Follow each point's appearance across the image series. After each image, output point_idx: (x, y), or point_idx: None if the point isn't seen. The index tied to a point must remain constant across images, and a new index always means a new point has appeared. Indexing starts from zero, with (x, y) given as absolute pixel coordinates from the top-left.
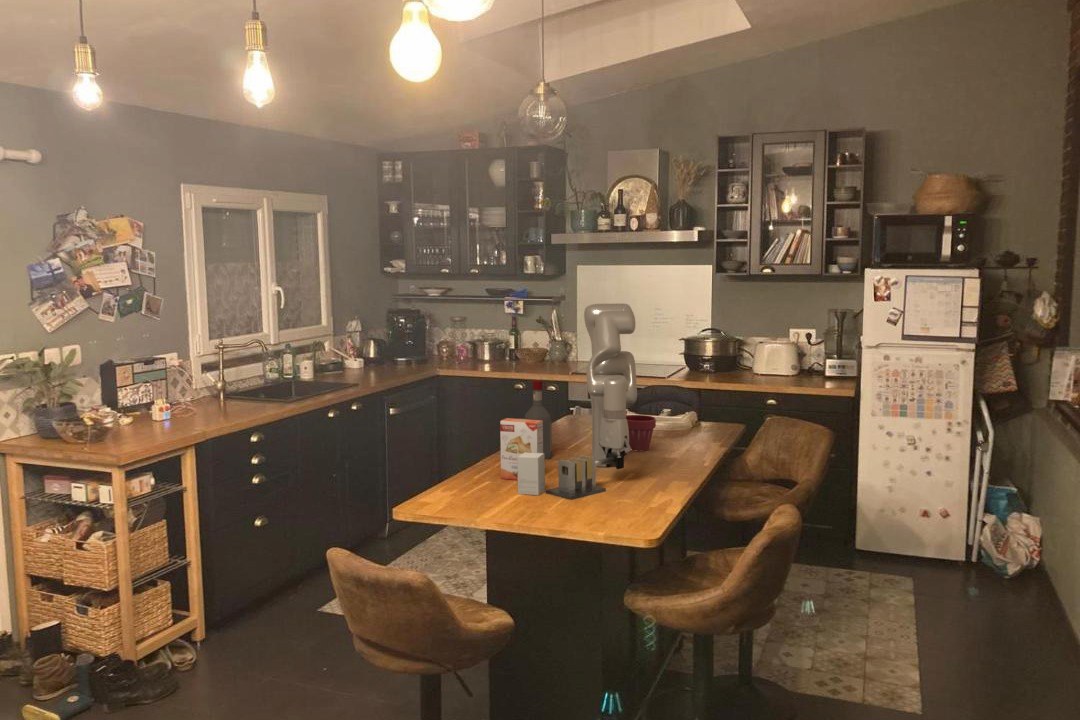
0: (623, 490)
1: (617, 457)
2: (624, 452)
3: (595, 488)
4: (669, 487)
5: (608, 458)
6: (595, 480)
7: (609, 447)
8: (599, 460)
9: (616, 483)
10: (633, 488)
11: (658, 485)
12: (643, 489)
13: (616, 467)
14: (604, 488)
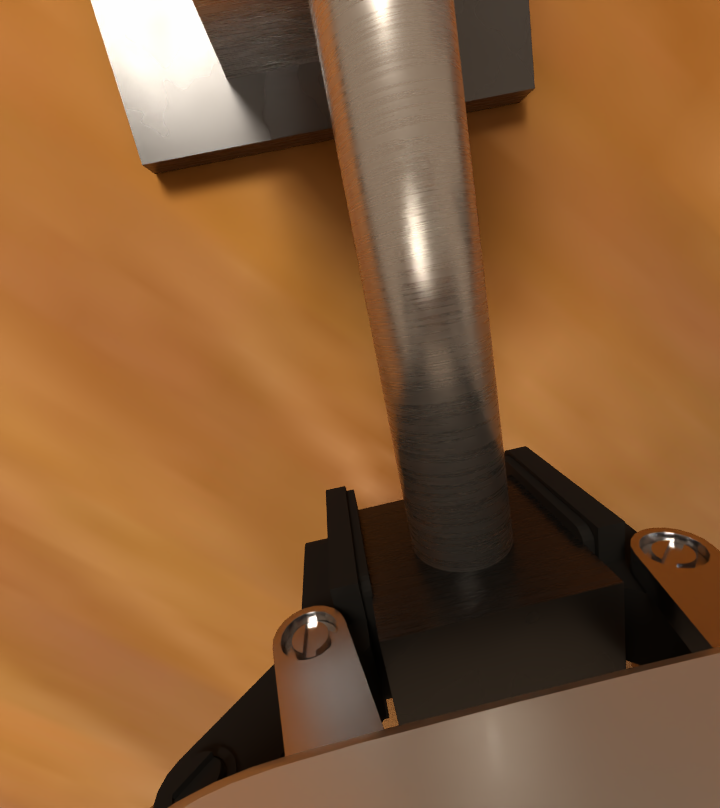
0: (101, 344)
1: (376, 612)
2: (158, 802)
3: (180, 39)
4: (32, 696)
5: (436, 449)
6: (205, 28)
7: (600, 681)
8: (387, 154)
9: (357, 435)
10: (128, 460)
11: (127, 664)
12: (57, 510)
13: (344, 492)
14: (135, 141)
